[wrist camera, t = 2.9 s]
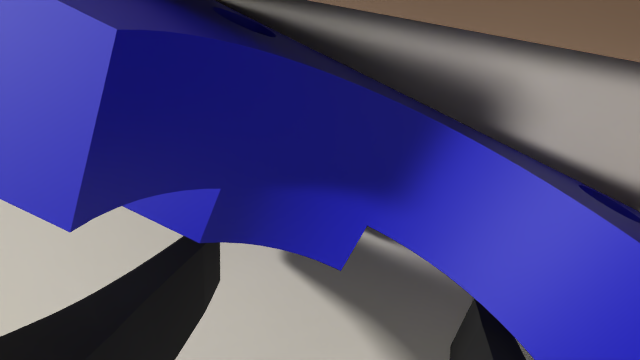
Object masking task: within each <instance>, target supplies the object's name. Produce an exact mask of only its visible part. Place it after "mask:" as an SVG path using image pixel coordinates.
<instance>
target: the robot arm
mask: <svg viewBox="0 0 640 360" xmlns="http://www.w3.org/2000/svg"><path fill="white" fill-rule="evenodd" d="M219 281H220V242H217V243H198V242H196V241H194V240H192V239H190V238H188V237H186V236H183V237H182V238H180V239H179V240H177V241H176V242H174V243H173V244H171V245H170V246H169V247H167V248H166V249H164V250H163V251H161V252H160V253H158V254H157V255H155V256H154V257H152V258H151V259H149V260H147V261H146V262H144V263H143V264H141V265H140V266H138V267H137V268H135V269H134V270H132V271H130V272H129V273H127V274H125V275H124V276H122V277H120V278H119V279H117V280H115V281H114V282H112V283H110V284H109V285H107V286H105V287H104V288H102V289H100V290H98V291H97V292H95V293H93V294H91V295H89V296H87V297H86V298H84V299H82V300H80V301H78V302H76V303H74V304H72V305H70V306H68V307H66V308H64V309H62V310H60V311H58V312H56V313H54V314H52V315H49V316H47V317H45V318H43V319H41V320H38V321H36V322H34V323H31V324H29V325H27V326H25V327H22V328H20V329H18V330H15V331H13V332H11V333H8V334H6V335H3V336H1V337H0V360H175V359H176V357H177V356H178V354H179V352H180V351H181V349H182V348H183V346H184V345H185V343H186V341H187V340H188V338H189V337H190V335H191V334H192V332H193V330H194V329H195V327H196V326H197V324H198V322H199V321H200V319H201V318H202V316H203V314H204V313H205V311H206V309H207V307H208V305H209V303H210V301H211V299H212V297H213V294H214V292H215V290H216V288H217V286H218V284H219ZM450 360H526V359H525V357H524V355H523V353H522V351H521V349H520V347H519V345H518V343H517V341H516V339H515V337H514V336H513V335H512V334H511V333H510V332H509V331H508V330H507V329H506V328H505V327H504V326H503V325H502V324H501V323H500V322H499V321H498V320H497V319H496V318H495V317H494V316H493V315H492V314H491V313H490V312H489V311H488V310H487V309H486V308H485V307H484V306H483V305H482V304H480V303H479V302H478V301H477V300H476V299H474V300H473V302H472V304H471V306H470V308H469V310H468V312H467V314H466V316H465V318H464V320H463V322H462V324H461V326H460V328H459V330H458V332H457V334H456V336H455V338H454V340H453V342H452V344H451V349H450Z"/></svg>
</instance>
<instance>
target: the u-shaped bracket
mask: <svg viewBox="0 0 640 360" xmlns="http://www.w3.org/2000/svg"><path fill="white" fill-rule="evenodd" d="M309 1H314V2H320V3H325V4H330V5H336V6H341V7H346V8H352V9H357V10H362V11H368V12H373V13H378V14H384V15H389V16H394V17H400V18H405V19H411V20H416V21H421V22H427V23H432V24H437V25H443V26H448V27H453V28H459V29H464V30H469V31H475V32H480V33H486V34H491V35H496V36H502V37H507V38H512V39H518V40H523V41H528V42H534V43H539V44H544V45H550V46H555V47H560V48H566V49H571V50H577V51H582V52H587V53H593V54H598V55H603V56H609V57H614V58H619V59H625V60H630V61H635V62H640V0H309Z"/></svg>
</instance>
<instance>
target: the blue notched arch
mask: <svg viewBox="0 0 640 360" xmlns="http://www.w3.org/2000/svg"><path fill="white" fill-rule="evenodd" d="M0 199H2V200H4V201H6V202H8V203H10V204H12V205H14V206H16V207H18V208H20V209H22V210H25V211H27V212H29V213H31V214H33V215H35V216H37V217H39V218H41V219H43V220H45V221H47V222H50V223H52V224H54V225H56V226H58V227H60V228H62V229H64V230H66V231H68V232H72V231H73V230H75V229H77V228H78V227H80V226H82V225H83V224H85V223H87V222H88V221H90V220H92V219H93V218H95V217H98V216H100V215H102V214H104V213H106V212H108V211H111V210H113V209H115V208H117V207H120V206H123V207H125V208H128V209H130V210H132V211H134V212H136V213H138V214H140V215H142V216H144V217H146V218H148V219H150V220H152V221H154V222H157V223H159V224H161V225H163V226H165V227H167V228H169V229H171V230H173V231H175V232H177V233H179V234H181V235H183V236H186V237H188V238H190V239H192V240H194V241H196V242H198V243H217V242H228V243H245V244H253V245H261V246H266V247H271V248H277V249H281V250H285V251H289V252H292V253H296V254H299V255H302V256H305V257H308V258H311V259H314V260H317V261H319V262H322V263H324V264H326V265H329V266H331V267H333V268H336V269H338V270H340V271H341V270H342V268H343V266H344V264H345V263H346V261H347V259H348V258H349V256H350V254H351V253H352V251H353V249H354V247H355V246H356V244H357V242H358V241H359V239H360V237H361V235H362V234H363V232H364V230H365V229H366V227H367V226H369V227H371V228H373V229H375V230H377V231H379V232H380V233H382V234H384V235H386V236H388V237H390V238H391V239H393V240H395V241H397V242H398V243H400V244H401V245H403V246H405V247H406V248H408V249H410V250H411V251H413V252H414V253H416V254H417V255H419V256H420V257H422V258H423V259H425V260H426V261H428V262H429V263H431V264H432V265H433V266H435V267H436V268H437V269H439V270H440V271H442V272H443V273H444V274H446V275H447V276H448V277H449V278H451V279H452V280H453V281H454V282H456V283H457V284H458V285H459V286H461V287H462V288H463V289H464V290H466V291H467V292H468V293H469V294H470V295H471V296H472V297H474V298H475V299H476V300H477V301H478V302H479V303H480V304H482V305H483V306H484V307H485V308H486V309H487V310H488V311H489V312H490V313H491V314H492V315H493V316H494V317H495V318H496V319H497V320H498V321H499V322H500V323H501V324H502V325H503V326H504V327H505V328H506V329H507V330H508V331H509V332H510V333H511V334H512V335H513V336H514V337H515V338H516V339H517V340H518V341H519V342H520V344H521V345H522V346H523V347H524V348H525V349H526V350H527V352H528V353H529V354H530V355H531V356H532V357H533V358H534V359H535V360H640V212H638V211H637V210H635V209H633V208H631V207H629V206H627V205H625V204H623V203H621V202H619V201H617V200H615V199H613V198H611V197H609V196H607V195H605V194H603V193H601V192H599V191H597V190H595V189H593V188H591V187H589V186H587V185H585V184H583V183H581V182H579V181H577V180H575V179H573V178H571V177H569V176H567V175H565V174H563V173H561V172H559V171H557V170H555V169H553V168H551V167H549V166H547V165H545V164H543V163H541V162H539V161H537V160H535V159H533V158H531V157H529V156H527V155H525V154H523V153H521V152H519V151H517V150H515V149H513V148H511V147H509V146H507V145H505V144H503V143H501V142H498V141H496V140H494V139H492V138H490V137H488V136H486V135H484V134H482V133H480V132H478V131H476V130H474V129H472V128H470V127H468V126H466V125H464V124H462V123H460V122H458V121H456V120H454V119H452V118H450V117H448V116H446V115H444V114H442V113H440V112H438V111H436V110H434V109H432V108H430V107H428V106H426V105H424V104H422V103H420V102H418V101H416V100H414V99H412V98H410V97H408V96H406V95H404V94H402V93H400V92H398V91H396V90H394V89H392V88H390V87H388V86H386V85H384V84H382V83H380V82H378V81H376V80H374V79H372V78H370V77H368V76H366V75H364V74H362V73H360V72H358V71H356V70H354V69H352V68H350V67H348V66H346V65H344V64H342V63H340V62H338V61H336V60H334V59H332V58H330V57H328V56H326V55H324V54H322V53H320V52H317V51H315V50H313V49H311V48H309V47H307V46H305V45H303V44H301V43H299V42H297V41H295V40H293V39H291V38H289V37H287V36H285V35H283V34H281V33H279V32H277V31H275V30H273V29H271V28H269V27H267V26H265V25H263V24H261V23H259V22H257V21H255V20H253V19H251V18H249V17H247V16H245V15H243V14H241V13H239V12H237V11H235V10H233V9H231V8H229V7H227V6H225V5H223V4H221V3H219V2H217V1H215V0H0Z"/></svg>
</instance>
